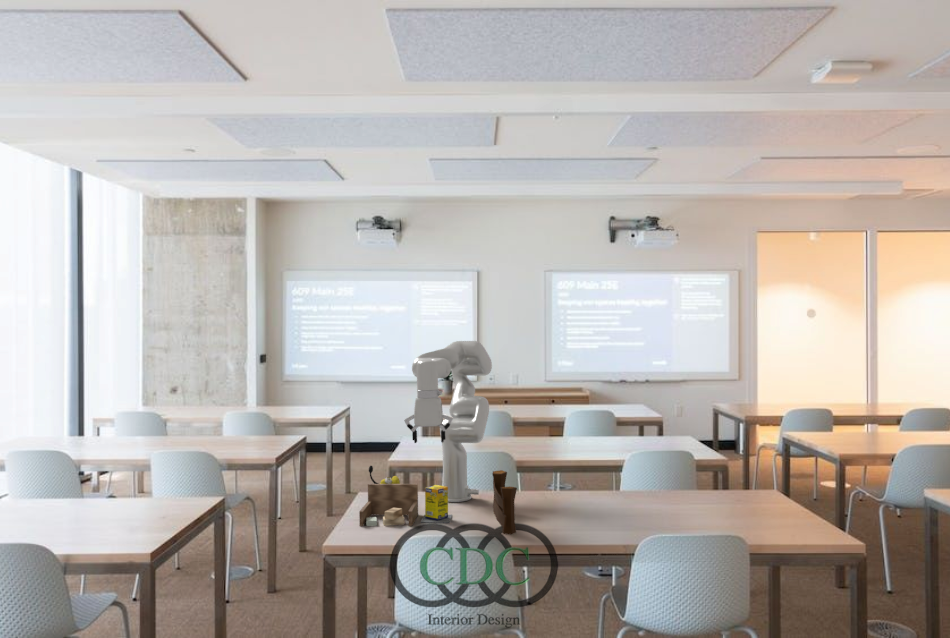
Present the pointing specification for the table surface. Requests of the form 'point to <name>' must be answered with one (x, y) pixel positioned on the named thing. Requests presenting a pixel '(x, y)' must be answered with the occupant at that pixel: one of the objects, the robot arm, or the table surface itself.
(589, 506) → the table surface
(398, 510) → the offcut
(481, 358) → the robot arm
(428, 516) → the supplement box
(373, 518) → the offcut
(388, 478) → the toy
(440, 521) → the pad
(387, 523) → the offcut
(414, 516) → the rack
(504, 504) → the decorative fence
